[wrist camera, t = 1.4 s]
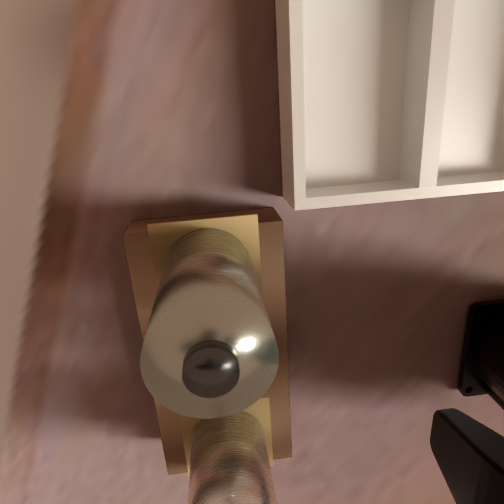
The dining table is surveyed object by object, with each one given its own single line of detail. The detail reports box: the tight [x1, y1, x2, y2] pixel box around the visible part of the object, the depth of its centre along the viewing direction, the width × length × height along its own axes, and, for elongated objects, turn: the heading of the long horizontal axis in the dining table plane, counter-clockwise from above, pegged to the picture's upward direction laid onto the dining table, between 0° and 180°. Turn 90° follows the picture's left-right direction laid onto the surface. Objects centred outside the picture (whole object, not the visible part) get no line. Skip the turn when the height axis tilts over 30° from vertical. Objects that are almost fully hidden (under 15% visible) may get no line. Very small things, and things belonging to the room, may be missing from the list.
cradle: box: [123, 207, 292, 475], centre depth 20 cm, size 15×7×4 cm, turn 4°
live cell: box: [188, 411, 277, 504], centre depth 18 cm, size 4×4×8 cm
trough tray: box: [275, 0, 504, 210], centre depth 17 cm, size 9×12×3 cm
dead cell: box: [140, 228, 279, 419], centre depth 14 cm, size 4×4×8 cm
